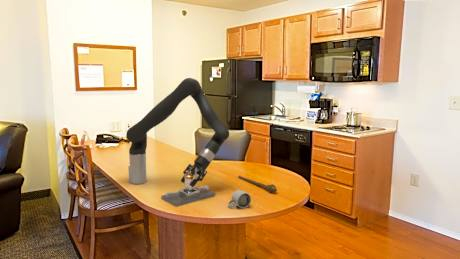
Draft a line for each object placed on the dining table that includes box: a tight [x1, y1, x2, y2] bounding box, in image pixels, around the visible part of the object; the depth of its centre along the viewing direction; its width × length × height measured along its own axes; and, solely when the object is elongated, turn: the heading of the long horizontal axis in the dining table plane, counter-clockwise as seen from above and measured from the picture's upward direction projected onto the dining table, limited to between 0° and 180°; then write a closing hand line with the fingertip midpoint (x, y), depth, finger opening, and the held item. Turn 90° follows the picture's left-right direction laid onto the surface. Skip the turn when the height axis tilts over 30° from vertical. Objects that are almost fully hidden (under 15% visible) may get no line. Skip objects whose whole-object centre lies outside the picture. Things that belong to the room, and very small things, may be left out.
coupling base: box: [161, 184, 216, 207], centre depth 173 cm, size 24×14×4 cm, turn 131°
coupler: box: [183, 173, 195, 193], centre depth 172 cm, size 5×5×10 cm
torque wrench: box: [237, 175, 278, 194], centre depth 193 cm, size 5×35×5 cm
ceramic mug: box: [227, 189, 252, 209], centre depth 161 cm, size 10×8×7 cm
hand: (186, 184), depth 171 cm, fingers open, 8 cm apart
